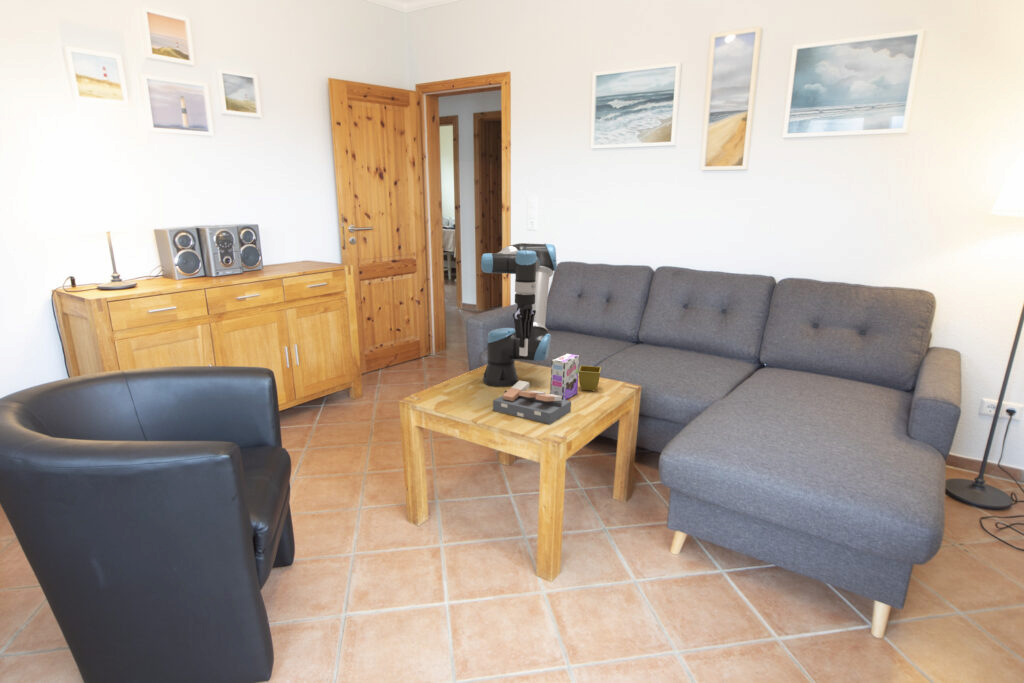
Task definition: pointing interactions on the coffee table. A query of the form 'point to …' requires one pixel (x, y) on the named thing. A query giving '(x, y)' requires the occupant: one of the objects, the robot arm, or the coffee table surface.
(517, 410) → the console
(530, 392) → the rocker middle
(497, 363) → the robot arm
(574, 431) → the coffee table surface
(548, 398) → the rocker right
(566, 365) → the candy box
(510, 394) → the rocker left
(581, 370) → the flower pot
